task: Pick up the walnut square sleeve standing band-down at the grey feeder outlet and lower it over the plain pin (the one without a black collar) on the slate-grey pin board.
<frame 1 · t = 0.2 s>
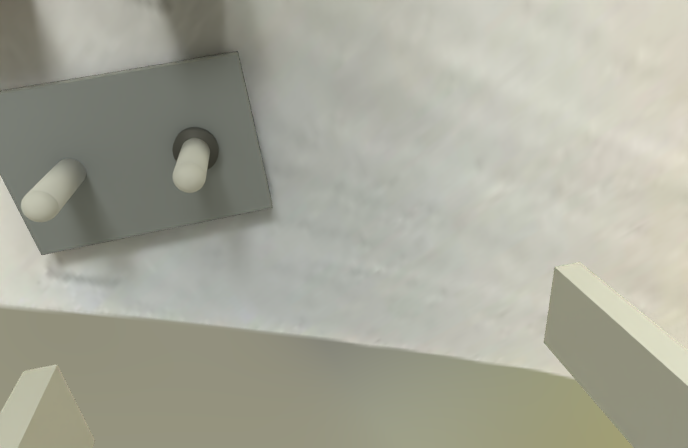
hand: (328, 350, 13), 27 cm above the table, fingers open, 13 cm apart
pinboard: (138, 153, 36), on the table
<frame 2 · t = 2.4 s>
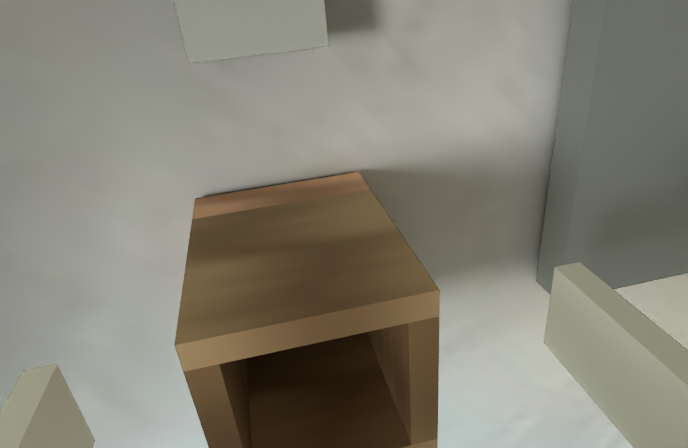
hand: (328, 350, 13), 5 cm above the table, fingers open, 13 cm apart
sleeve: (290, 254, 17), on the table
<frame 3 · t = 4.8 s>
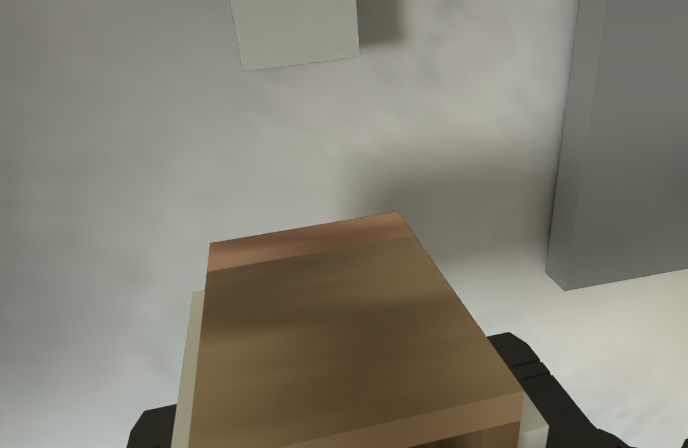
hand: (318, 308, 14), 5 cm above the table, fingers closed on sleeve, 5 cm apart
sleeve: (317, 303, 15), point 5 cm above the table, touching gripper
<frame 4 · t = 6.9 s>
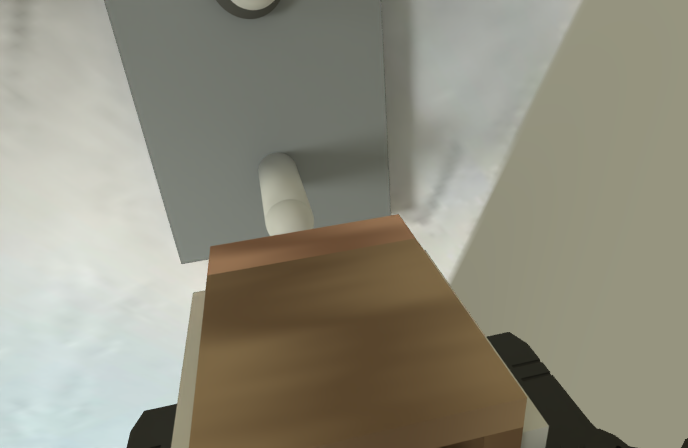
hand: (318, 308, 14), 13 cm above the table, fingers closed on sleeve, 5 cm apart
pinboard: (261, 77, 24), on the table
sleeve: (317, 306, 15), point 13 cm above the table, touching gripper
when the fingers open (2 cm above the table, at t = 8.9 s): sleeve stays where it is, resting on pinboard.
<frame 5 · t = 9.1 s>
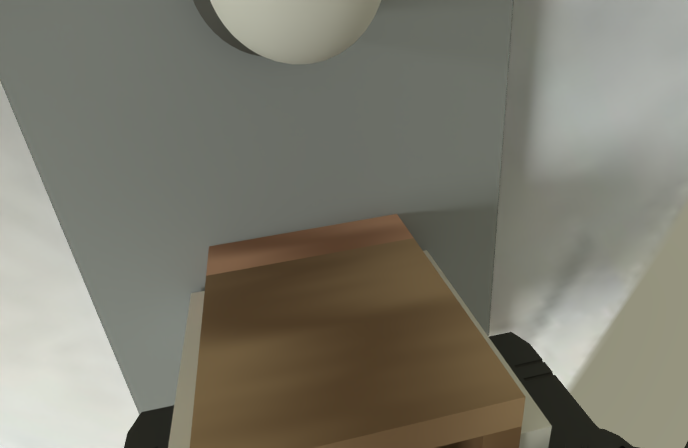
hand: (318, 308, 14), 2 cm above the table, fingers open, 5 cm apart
pinboard: (287, 149, 14), on the table
sleeve: (316, 305, 15), point 1 cm above the table, touching pinboard
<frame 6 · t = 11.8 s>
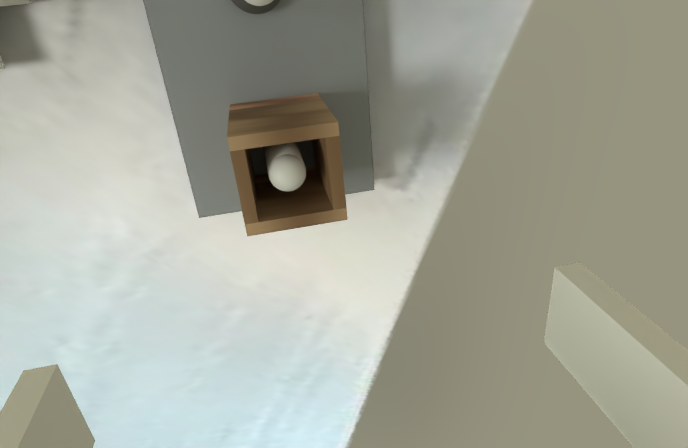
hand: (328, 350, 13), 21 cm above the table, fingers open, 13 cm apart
pinboard: (266, 62, 29), on the table
sleeve: (280, 141, 30), point 1 cm above the table, touching pinboard
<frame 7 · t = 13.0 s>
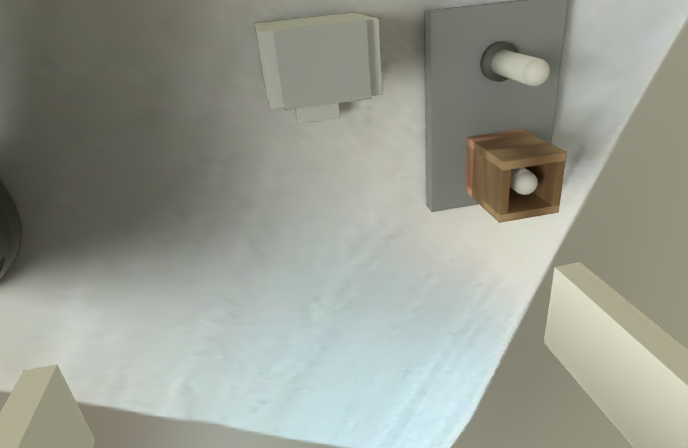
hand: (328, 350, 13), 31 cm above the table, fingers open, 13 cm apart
feeder: (308, 50, 39), on the table
pinboard: (487, 108, 44), on the table
sleeve: (492, 160, 45), point 1 cm above the table, touching pinboard
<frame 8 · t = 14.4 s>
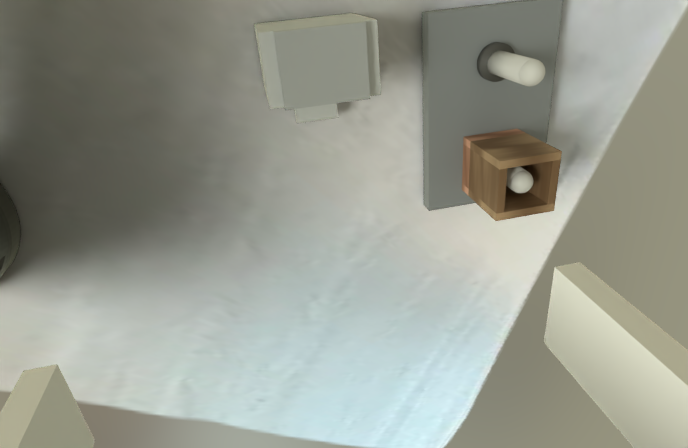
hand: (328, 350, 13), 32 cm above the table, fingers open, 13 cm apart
feeder: (307, 50, 39), on the table
pinboard: (483, 108, 45), on the table
sleeve: (489, 159, 46), point 1 cm above the table, touching pinboard
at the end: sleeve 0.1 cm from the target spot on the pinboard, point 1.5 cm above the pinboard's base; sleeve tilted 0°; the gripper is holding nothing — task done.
